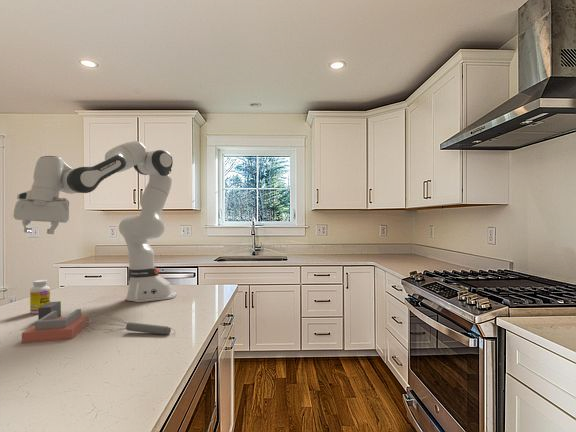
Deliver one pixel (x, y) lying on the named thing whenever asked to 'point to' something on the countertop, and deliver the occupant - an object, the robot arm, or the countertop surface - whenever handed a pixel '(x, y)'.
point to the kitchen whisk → (136, 327)
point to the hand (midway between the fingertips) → (38, 233)
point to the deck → (55, 327)
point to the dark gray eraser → (49, 309)
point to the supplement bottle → (39, 295)
